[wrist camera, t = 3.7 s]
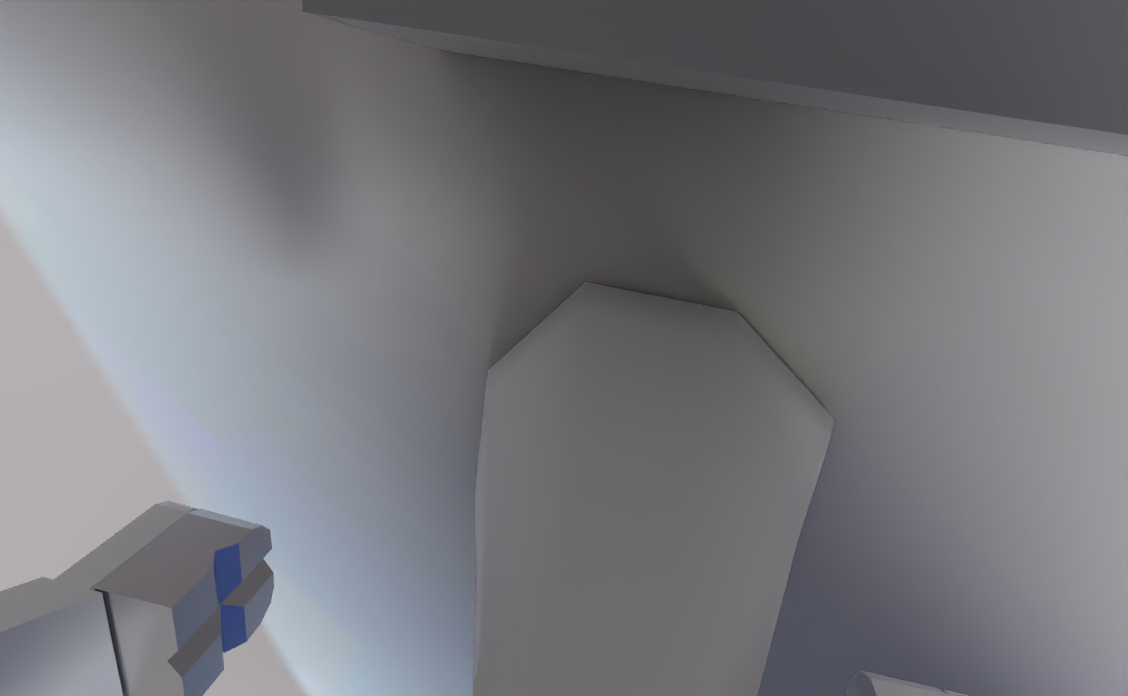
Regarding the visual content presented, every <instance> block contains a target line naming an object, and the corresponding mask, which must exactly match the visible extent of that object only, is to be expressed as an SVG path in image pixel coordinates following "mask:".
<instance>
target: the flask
mask: <svg viewBox="0 0 1128 696" xmlns="http://www.w3.org/2000/svg"><path fill="white" fill-rule="evenodd" d="M834 422H835V419H834V418H833V417H832V416H831V415H830V414H829V413H828V412H827V411H826V409H825V408H824V407H823V406H822V405H821V404H820V403H819V402H818V401H817V399H816V398H815V397H814V396H813V395H812V394H811V393H810V392H809V391H808V389H807V388H806V387H805V386H804V385H803V384H802V383H801V382H800V381H799V380H798V378H797V377H796V376H795V375H794V374H793V373H792V372H791V371H790V370H789V368H788V367H787V366H786V365H785V364H784V363H783V362H782V361H781V360H780V358H779V357H778V356H777V355H776V354H775V353H774V352H773V351H772V350H771V349H770V347H769V346H768V345H767V344H766V343H765V342H764V341H763V340H762V339H761V337H760V336H759V335H758V334H757V333H756V332H755V331H754V330H753V329H752V328H751V326H750V325H749V324H748V323H747V322H746V321H745V320H744V319H743V318H742V316H741V315H740V314H739V313H738V312H737V311H732V310H726V309H721V308H716V307H711V306H706V305H701V304H696V303H691V302H686V301H681V300H676V299H671V298H665V297H660V296H655V295H650V294H645V293H640V292H635V291H630V290H625V289H620V288H615V287H610V286H604V285H599V284H594V283H589V282H584V283H583V284H582V285H581V286H580V287H579V288H578V289H577V290H576V291H575V292H574V293H572V294H571V295H570V296H569V297H568V298H567V299H566V300H565V301H564V302H563V303H561V304H560V305H559V306H558V307H557V308H556V309H555V310H554V311H553V312H552V313H550V314H549V315H548V316H547V317H546V318H545V319H544V320H543V321H542V322H541V323H539V324H538V325H537V326H536V327H535V328H534V329H533V330H532V331H531V332H530V333H529V334H527V335H526V336H525V337H524V338H523V339H522V340H521V341H520V342H519V343H518V344H516V345H515V346H514V347H513V348H512V349H511V350H510V351H509V352H508V353H507V354H505V355H504V356H503V357H502V358H501V359H500V360H499V361H498V362H497V363H496V364H495V365H493V366H492V367H491V368H490V369H489V370H488V371H487V379H486V388H485V398H484V407H483V416H482V426H481V435H480V444H479V454H478V463H477V472H476V482H475V507H474V508H475V548H476V609H475V642H474V674H473V696H758V693H759V689H760V685H761V681H762V678H763V674H764V670H765V666H766V662H767V658H768V654H769V651H770V647H771V643H772V639H773V635H774V631H775V628H776V624H777V620H778V616H779V612H780V608H781V604H782V601H783V597H784V593H785V589H786V585H787V581H788V578H789V574H790V570H791V566H792V562H793V558H794V554H795V551H796V547H797V543H798V539H799V536H800V533H801V530H802V527H803V524H804V521H805V518H806V514H807V511H808V508H809V505H810V502H811V499H812V496H813V493H814V489H815V486H816V483H817V480H818V477H819V474H820V471H821V468H822V464H823V461H824V458H825V455H826V452H827V449H828V445H829V441H830V437H831V433H832V430H833V426H834Z"/></svg>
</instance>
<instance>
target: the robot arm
mask: <svg viewBox="0 0 1128 696" xmlns="http://www.w3.org/2000/svg"><path fill="white" fill-rule="evenodd" d="M271 549H272V543H271V534H270V530H269V529H267V528H266V527H264V526H262V525H258V524H255V523H251V522H247V521H243V520H240V519H236V518H232V517H229V516H225V515H221V514H218V513H214V512H210V511H207V510H203V509H197V508H193V507H189V506H186V505H182V504H178V503H175V502H171V501H166V502H163V503H159V504H155V505H154V506H152V507H151V508H150V509H148V510H147V511H146V512H144V513H143V514H142V515H140V516H139V517H137V518H136V519H135V520H133V521H132V522H131V523H129V524H128V525H127V526H125V527H124V528H123V529H121V530H120V531H119V532H117V533H116V534H114V535H113V536H112V537H110V538H109V539H108V540H106V541H105V542H104V543H102V544H101V545H100V546H99V547H97V548H96V549H94V550H93V551H92V552H90V553H89V554H88V555H86V556H85V557H84V558H82V559H81V560H80V561H78V562H77V563H75V564H74V565H73V566H71V567H70V568H69V569H67V570H66V571H65V572H63V573H62V574H61V575H59V576H58V577H57V578H55V579H54V580H53V579H49V578H45V577H41V578H38V579H36V580H33V581H30V582H27V583H24V584H21V585H18V586H15V587H12V588H9V589H6V590H3V591H1V592H0V696H203V695H204V693H205V692H206V691H207V690H208V689H209V687H210V686H211V685H212V684H213V682H214V681H215V680H216V679H217V677H218V676H219V675H220V673H222V671H223V670H224V662H225V652H227V651H229V650H231V649H232V648H235V647H237V646H239V645H241V644H243V643H245V642H247V640H248V639H249V638H250V636H251V635H252V634H253V633H254V631H255V630H256V629H257V628H258V626H259V625H260V624H261V622H262V620H263V617H264V615H265V613H266V611H267V609H268V607H269V605H270V603H271V598H272V593H273V589H274V575H273V572H272V570H271V569H270V567H269V566H268V565H267V563H266V562H265V560H264V559H263V558H264V557H265V556H266V555H267V553H268V552H269V551H270V550H271ZM845 692H846V695H847V696H970V695H966V694H961V693H957V692H953V691H948V690H944V689H941V690H940V689H938V688H935V687H931V686H927V685H923V684H918V683H914V682H910V681H905V680H901V679H897V678H892V677H888V676H884V675H879V674H875V673H871V672H866V671H862V670H859V671H858V672H856V673H855V674H854V675H852V676H851V678H850V680H849V682H848V684H847V686H846V688H845Z"/></svg>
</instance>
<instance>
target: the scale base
mask: <svg viewBox="0 0 1128 696" xmlns="http://www.w3.org/2000/svg"><path fill="white" fill-rule="evenodd" d="M302 1H303V12H306V13H309V14H313V15H316V16H320V17H323V18H327V19H330V20H334V21H338V22H341V23H345V24H348V25H352V26H355V27H359V28H362V29H366V30H369V31H373V32H377V33H380V34H384V35H387V36H391V37H394V38H398V39H401V40H405V41H409V42H412V43H416V44H419V45H423V46H426V47H430V48H433V49H437V50H442V51H449V52H455V53H462V54H468V55H475V56H481V57H488V58H494V59H501V60H507V61H514V62H520V63H527V64H533V65H540V66H547V67H553V68H560V69H566V70H573V71H579V72H586V73H592V74H599V75H605V76H612V77H618V78H625V79H631V80H638V81H644V82H651V83H657V84H664V85H670V86H677V87H683V88H690V89H696V90H703V91H709V92H716V93H722V94H729V95H736V96H742V97H749V98H755V99H762V100H768V101H775V102H781V103H788V104H794V105H801V106H807V107H814V108H820V109H827V110H833V111H840V112H846V113H853V114H859V115H866V116H872V117H879V118H885V119H892V120H898V121H905V122H911V123H918V124H925V125H931V126H938V127H944V128H951V129H957V130H964V131H970V132H977V133H983V134H990V135H996V136H1003V137H1009V138H1016V139H1022V140H1029V141H1035V142H1042V143H1048V144H1055V145H1061V146H1068V147H1074V148H1081V149H1087V150H1094V151H1100V152H1107V153H1114V154H1120V155H1127V156H1128V0H302Z"/></svg>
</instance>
